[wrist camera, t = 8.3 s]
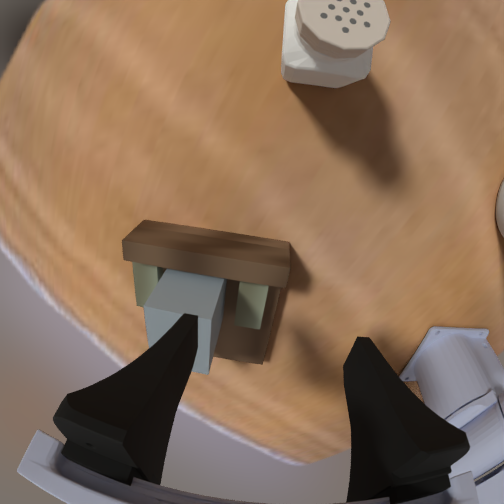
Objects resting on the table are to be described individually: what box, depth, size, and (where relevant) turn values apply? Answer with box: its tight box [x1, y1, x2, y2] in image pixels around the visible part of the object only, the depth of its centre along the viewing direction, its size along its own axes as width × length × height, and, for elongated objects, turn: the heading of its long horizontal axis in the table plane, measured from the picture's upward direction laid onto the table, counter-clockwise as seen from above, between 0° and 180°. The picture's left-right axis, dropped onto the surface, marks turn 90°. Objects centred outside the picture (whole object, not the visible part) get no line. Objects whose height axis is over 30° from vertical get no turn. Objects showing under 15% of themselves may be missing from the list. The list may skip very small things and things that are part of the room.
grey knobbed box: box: [144, 268, 227, 375], centre depth 19 cm, size 4×7×7 cm, turn 172°
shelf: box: [122, 220, 291, 364], centre depth 22 cm, size 11×12×4 cm
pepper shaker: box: [281, 0, 390, 88], centre depth 11 cm, size 4×4×10 cm
